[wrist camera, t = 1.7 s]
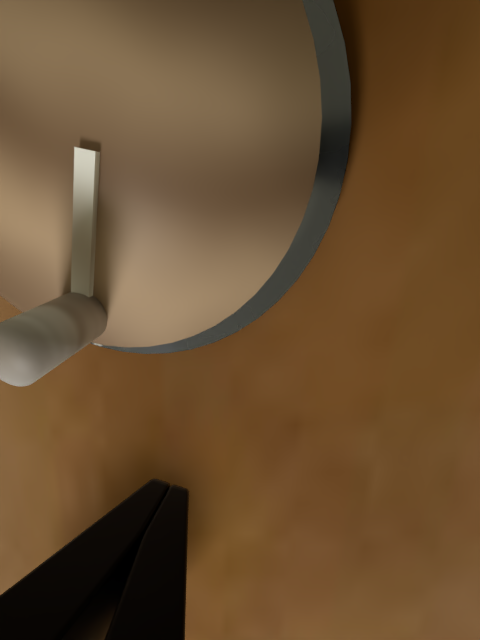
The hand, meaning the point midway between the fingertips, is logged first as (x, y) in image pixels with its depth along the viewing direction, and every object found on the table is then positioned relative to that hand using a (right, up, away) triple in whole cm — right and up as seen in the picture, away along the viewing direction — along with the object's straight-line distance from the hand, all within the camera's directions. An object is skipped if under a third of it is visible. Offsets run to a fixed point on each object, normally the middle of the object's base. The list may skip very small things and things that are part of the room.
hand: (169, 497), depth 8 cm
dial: (-4, +11, +6) cm, 13 cm away
